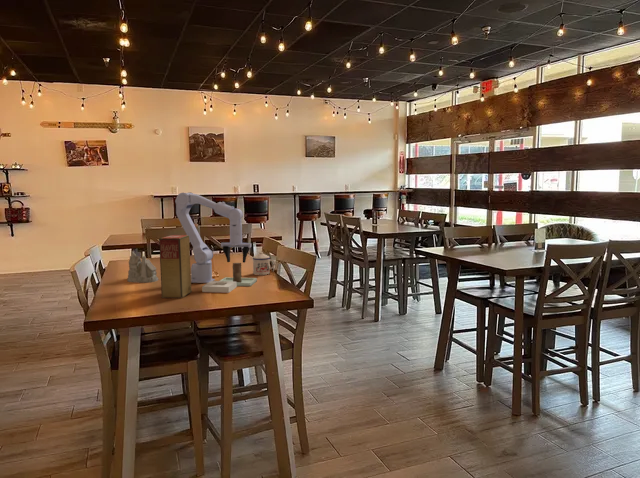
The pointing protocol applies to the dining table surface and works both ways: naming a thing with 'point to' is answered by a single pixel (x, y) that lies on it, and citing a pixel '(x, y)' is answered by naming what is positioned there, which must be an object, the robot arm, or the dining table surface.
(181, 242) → the food packaging
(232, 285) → the holder block
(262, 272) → the teacup with lid
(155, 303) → the dining table surface
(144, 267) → the grey castle model
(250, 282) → the sage tray
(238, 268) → the walnut pin
